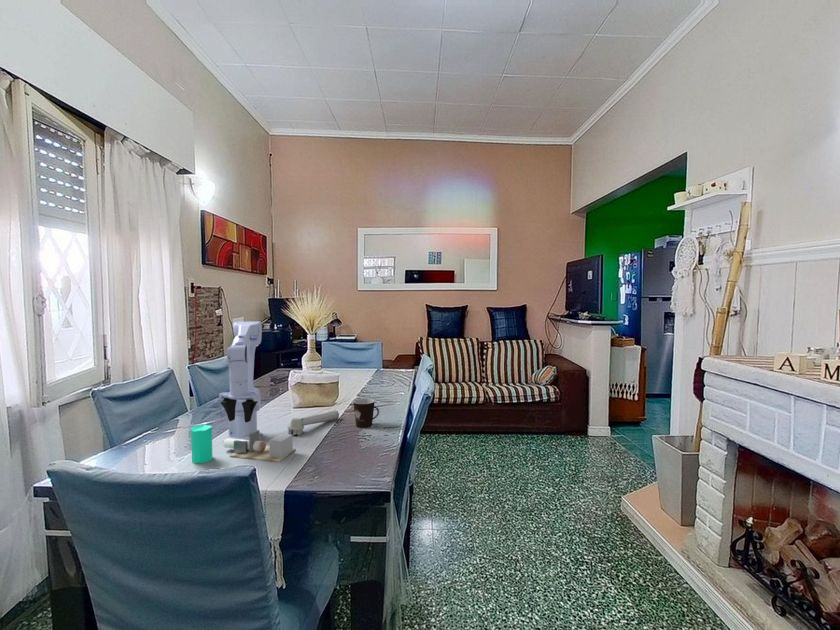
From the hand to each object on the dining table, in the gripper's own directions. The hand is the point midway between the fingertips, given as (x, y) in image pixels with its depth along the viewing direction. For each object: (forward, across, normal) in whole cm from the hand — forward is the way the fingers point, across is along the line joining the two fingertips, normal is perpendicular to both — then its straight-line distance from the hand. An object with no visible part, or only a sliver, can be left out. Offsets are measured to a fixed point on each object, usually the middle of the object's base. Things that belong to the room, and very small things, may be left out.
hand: (239, 421), depth 137 cm
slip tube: (+10, +2, 0) cm, 10 cm away
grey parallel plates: (+10, +2, 0) cm, 11 cm away
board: (+10, +8, 0) cm, 13 cm away
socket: (+10, +15, 0) cm, 19 cm away
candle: (+11, -8, -9) cm, 16 cm away
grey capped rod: (+11, +12, +29) cm, 33 cm away
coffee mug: (+10, +32, +34) cm, 48 cm away
